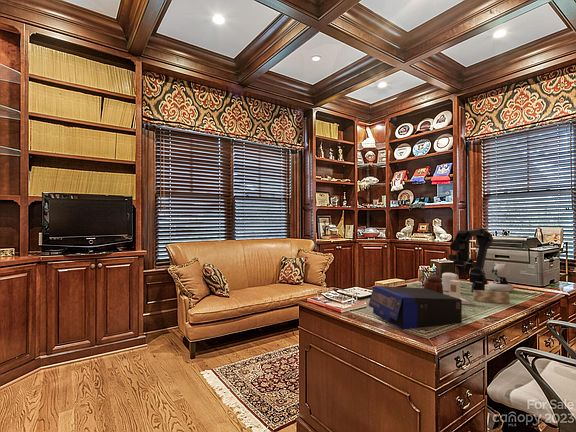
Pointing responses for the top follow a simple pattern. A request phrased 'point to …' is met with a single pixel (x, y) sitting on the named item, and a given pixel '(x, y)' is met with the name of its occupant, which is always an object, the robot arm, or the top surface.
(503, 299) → the birch partition
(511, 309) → the top surface
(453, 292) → the plain beige block
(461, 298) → the pad
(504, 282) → the decorative figurine
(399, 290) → the headphone box
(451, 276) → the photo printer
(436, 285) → the wooden figurine
